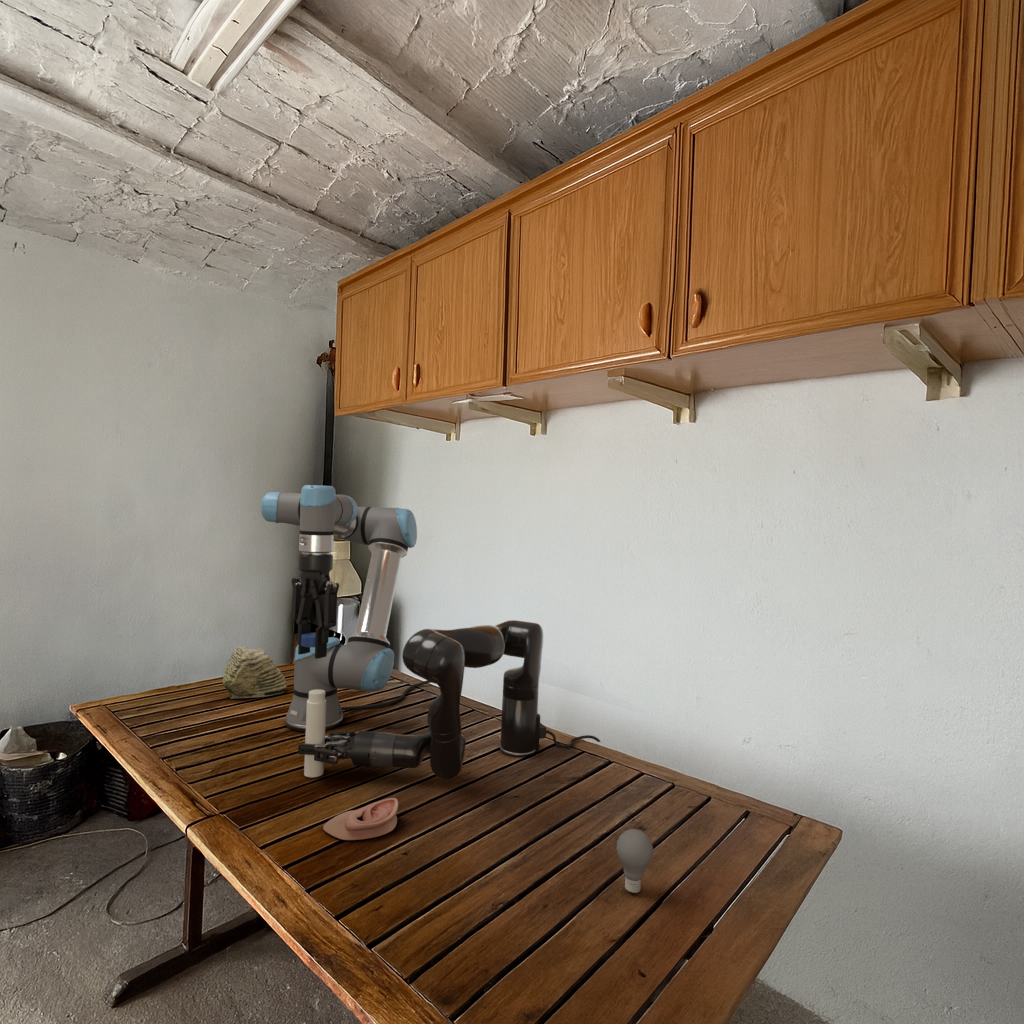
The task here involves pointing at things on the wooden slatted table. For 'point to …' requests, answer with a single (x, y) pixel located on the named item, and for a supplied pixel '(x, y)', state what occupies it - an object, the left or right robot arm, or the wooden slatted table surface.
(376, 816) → the anatomical model
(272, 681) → the fossil
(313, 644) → the lid
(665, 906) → the wooden slatted table surface
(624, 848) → the light bulb
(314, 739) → the white bottle
